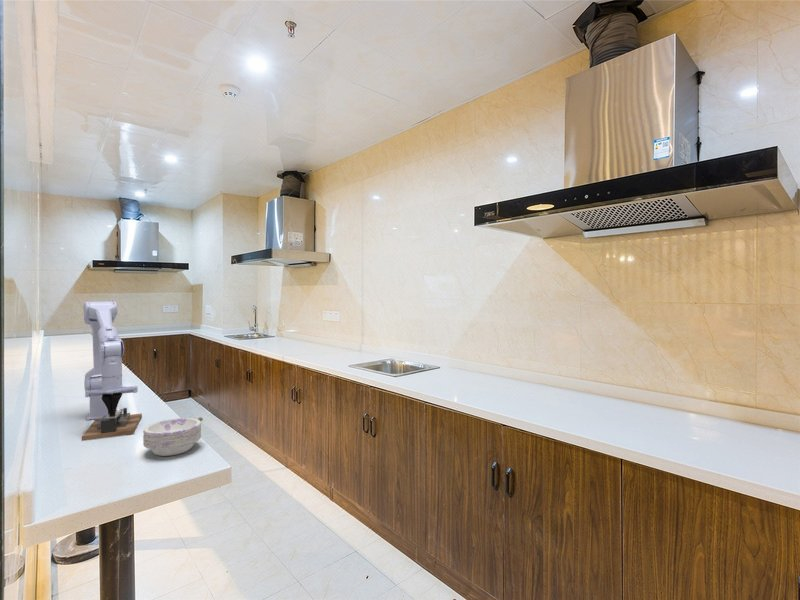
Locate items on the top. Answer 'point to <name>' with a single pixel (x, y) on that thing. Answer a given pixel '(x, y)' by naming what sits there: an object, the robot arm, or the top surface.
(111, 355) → the robot arm
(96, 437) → the board
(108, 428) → the clamp block
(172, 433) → the paper bowls
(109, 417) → the grey flat bar
